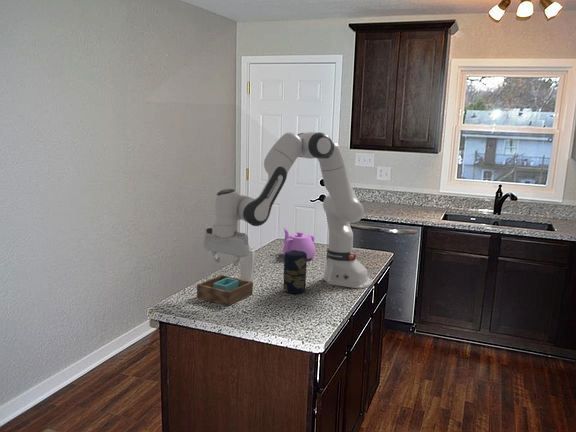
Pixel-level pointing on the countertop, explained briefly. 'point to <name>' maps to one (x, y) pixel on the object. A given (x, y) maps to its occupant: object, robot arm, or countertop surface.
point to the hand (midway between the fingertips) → (226, 263)
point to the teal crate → (226, 284)
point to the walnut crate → (222, 296)
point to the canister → (295, 271)
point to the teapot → (299, 243)
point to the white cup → (247, 265)
